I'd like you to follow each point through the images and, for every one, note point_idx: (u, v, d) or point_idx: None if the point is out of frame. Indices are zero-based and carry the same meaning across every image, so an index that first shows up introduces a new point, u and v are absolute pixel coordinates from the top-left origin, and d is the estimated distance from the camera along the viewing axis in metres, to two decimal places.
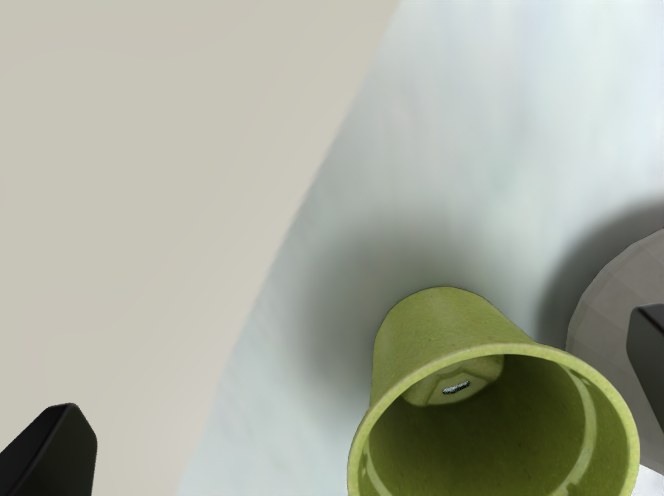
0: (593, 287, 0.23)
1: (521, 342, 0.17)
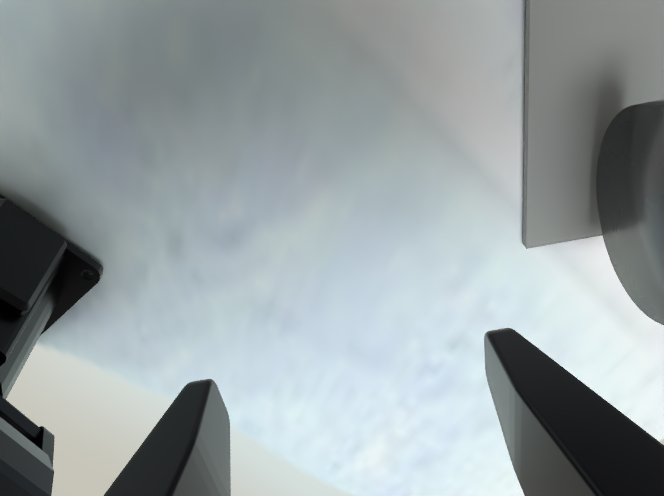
0: None
1: None
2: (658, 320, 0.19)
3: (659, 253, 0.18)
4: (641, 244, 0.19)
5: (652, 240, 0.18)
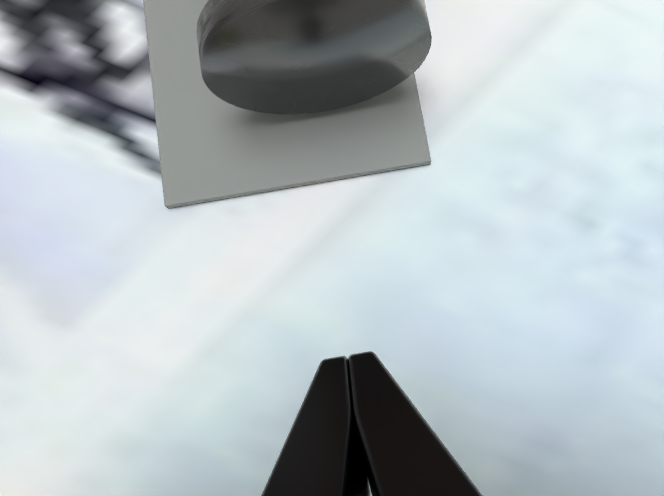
0: None
1: None
2: (420, 20, 0.16)
3: (340, 43, 0.17)
4: (351, 59, 0.18)
5: (334, 52, 0.17)
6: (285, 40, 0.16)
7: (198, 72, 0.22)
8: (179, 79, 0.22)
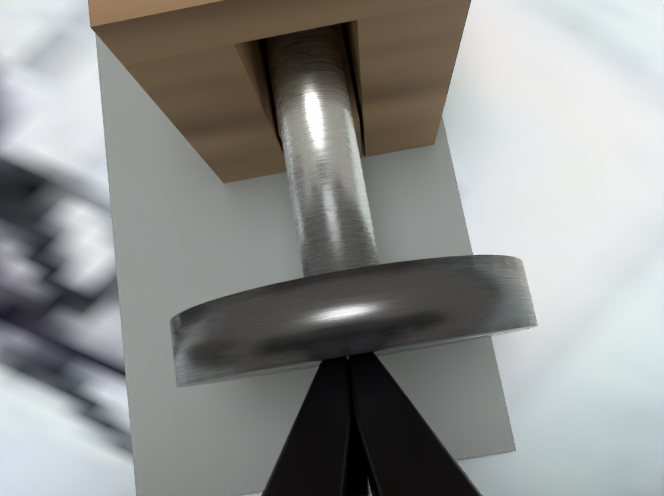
0: None
1: None
2: (528, 326, 0.10)
3: (397, 349, 0.11)
4: (409, 348, 0.12)
5: (384, 352, 0.11)
6: (310, 363, 0.10)
7: None
8: (159, 320, 0.16)
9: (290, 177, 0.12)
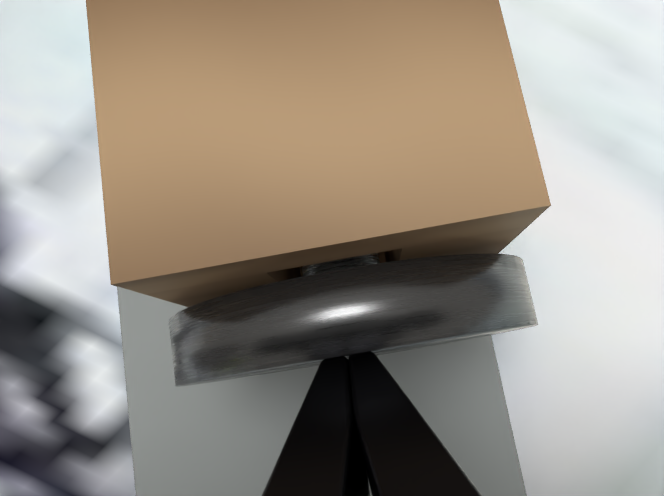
0: None
1: None
2: (528, 325, 0.10)
3: (396, 349, 0.11)
4: (409, 347, 0.11)
5: (384, 351, 0.11)
6: (309, 363, 0.10)
7: (202, 462, 0.15)
8: (174, 473, 0.15)
9: None
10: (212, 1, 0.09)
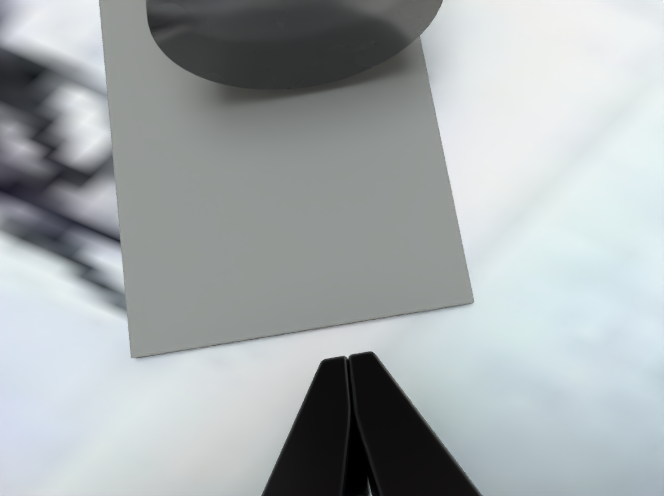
0: None
1: None
2: None
3: None
4: (344, 11, 0.14)
5: (320, 1, 0.13)
6: None
7: (175, 181, 0.18)
8: (151, 190, 0.18)
9: None
10: None
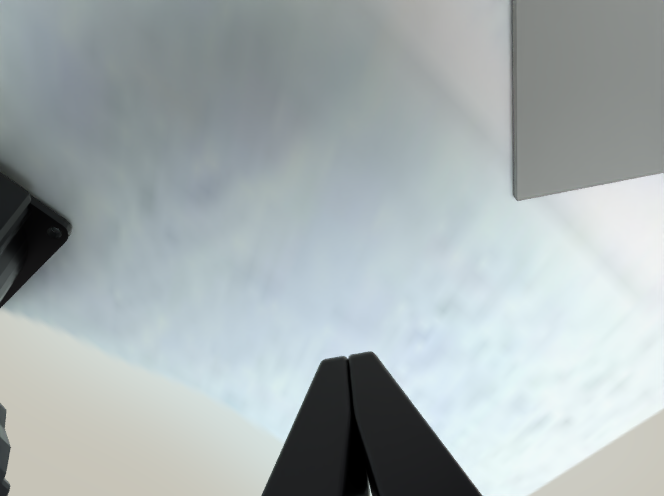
0: None
1: None
2: None
3: None
4: None
5: None
6: None
7: None
8: None
9: None
10: None
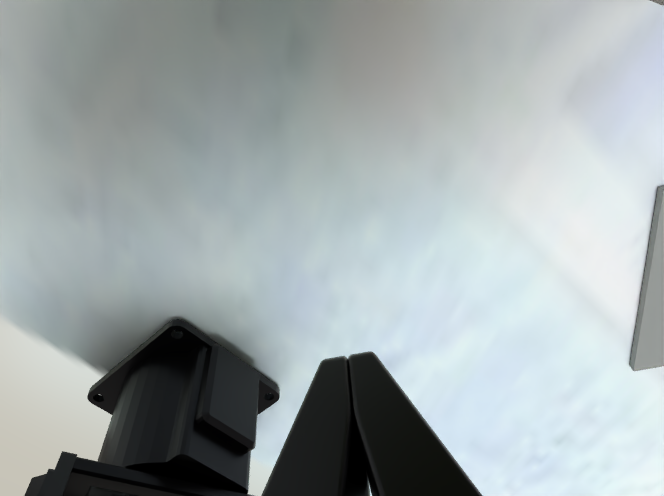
0: None
1: None
2: None
3: None
4: None
5: None
6: None
7: None
8: None
9: None
10: None
